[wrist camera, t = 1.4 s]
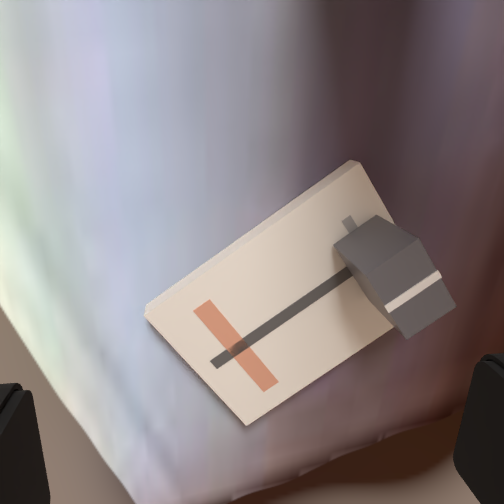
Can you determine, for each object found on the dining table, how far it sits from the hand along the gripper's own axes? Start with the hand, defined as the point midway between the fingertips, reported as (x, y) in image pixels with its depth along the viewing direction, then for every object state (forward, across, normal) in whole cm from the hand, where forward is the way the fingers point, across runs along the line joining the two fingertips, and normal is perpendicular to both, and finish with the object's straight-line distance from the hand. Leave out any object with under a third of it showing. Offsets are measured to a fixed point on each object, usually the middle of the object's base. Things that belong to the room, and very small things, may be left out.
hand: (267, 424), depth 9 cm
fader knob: (+22, -13, +5) cm, 26 cm away
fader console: (+24, -7, +9) cm, 27 cm away
